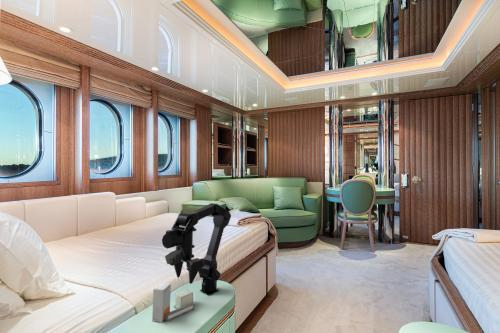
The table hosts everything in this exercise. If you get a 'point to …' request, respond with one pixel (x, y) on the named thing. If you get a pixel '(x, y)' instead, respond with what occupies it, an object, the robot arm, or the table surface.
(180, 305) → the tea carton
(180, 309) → the rail
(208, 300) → the table surface
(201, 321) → the table surface
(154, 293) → the skincare box
